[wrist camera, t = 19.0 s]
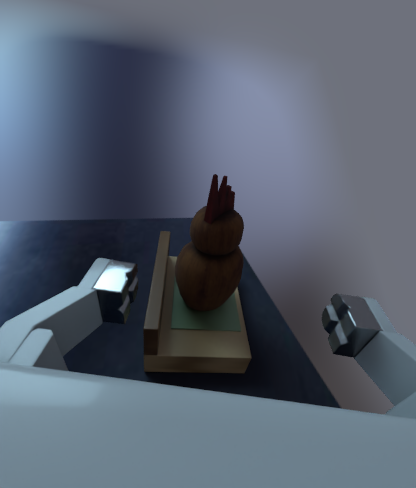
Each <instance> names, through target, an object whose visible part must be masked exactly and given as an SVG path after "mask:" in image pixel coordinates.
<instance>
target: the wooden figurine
mask: <svg viewBox="0 0 416 488" xmlns="http://www.w3.org/2000/svg"><path fill="white" fill-rule="evenodd" d="M234 195H235V192H233V191H231V186H229V185H227V176H224V177H223V180H222V183H221V186H220V188H219V191H218V176H217V175H216V174H215V175H213V179H212V184H211V189H210V193H209V197H208V203H207V206H205V207H203V208H202V209H200V210H199V211H198V212H197V213H196V215H195V216H194V218H193V220H192V222H191V226H190V236H191V240H192V241H191V242H190V243H188V244H187V245H185V246H184V247H183V249H182V250H181V252H180V254H179V255H178V257H177V260H176V265H175V278H176V283H177V286H178V289H179V292H180V295H181V297H182V299H183V300H184V302H185V303H186V305H188V306H189V307H191V308H192V309H195V310H198V311H210V310H214V309H217V308H218V307H220V306H221V305H222V304H223V303H225V302H226V301H227V299H228V298H229V297H230V296H231V295H232V294H233V293H234V291H235V290H236V288H237V287H238V284H239V282H240V279H241V274H242V268H243V255H242V253H241V250H240V248H239V246H238V245H239V244H240V241H241V239H242V234H243V229H244V224H243V219H242V217H241V216H240V215H239V213H237V212H236V211H235V210H234V198H235V196H234Z"/></svg>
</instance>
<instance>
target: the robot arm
mask: <svg viewBox="0 0 416 488" xmlns="http://www.w3.org/2000/svg"><path fill="white" fill-rule="evenodd" d="M137 272H138V268H137V264H134V263H128V262H122V261H116V260H109V259H103V258H98V259H97V260H95V262H94V263H93V265H92V266H91V268H90V269H89V271H88V272H87V274H86V275H85V277H84V278H83V279H82V281H81V282H80V284H79V285H78V287H75V286H73V287H71V288H69V289H68V290H66V291H64V292H62V293H60V294H58V295H56V296H54V297H52V298H50V299H49V300H47V301H45V302H43V303H41V304H39V305H37V306H35V307H33V308H32V309H30V310H28V311H26V312H24V313H22V314H20V315H18V316H16V317H14V318H13V319H11V320H9V321H7V322H5V323H4V324H3V326H2V327H1V328H0V488H416V345H415V344H413V343H412V342H411V341H410V340H408V339H407V338H406V337H404V336H403V335H402V334H398V333H397V332H396V330H395V329H394V327H393V326H392V324H391V322H390V321H389V319H388V318H387V316H386V314H385V313H384V311H383V310H382V308H381V306H380V305H379V303H378V302H377V301H376V300H375V299H373V298H366V297H357V296H351V295H343V294H335V295H333V297H332V298H331V302H332V304H330V305H328V306H326V308H325V309H324V311H323V314H322V323H323V326H324V329H325V330H326V331H327V332H328V333H329V334H330V335H329V337H328V341H329V343H330V346H331V349H332V351H333V354H336V355H342V356H348V357H354V359H355V360H356V361H357V363H358V364H359V365H360V366H361V367H362V368H363V370H364V371H365V372H366V373H367V374H368V375H369V376H370V378H371V379H372V380H373V381H374V382H375V383H376V385H377V386H378V387H379V388H380V389H381V391H382V392H383V393H384V394H385V395H386V396H387V398H388V399H389V400H390V401H391V402H392V403H393V404H394V406H395V407H393V408H392V409H390V410H389V411H387V412H386V414H385V415H383V414H376V413H368V412H361V411H354V410H347V409H340V408H332V407H325V406H318V405H311V404H303V403H296V402H289V401H282V400H274V399H267V398H260V397H252V396H245V395H238V394H230V393H223V392H216V391H208V390H201V389H194V388H186V387H179V386H172V385H165V384H157V383H150V382H143V381H135V380H128V379H121V378H113V377H106V376H99V375H91V374H84V373H77V372H70V371H68V369H67V367H66V364H65V362H64V359H63V357H62V356H64V355H65V354H66V353H67V352H68V351H70V350H71V349H72V348H73V347H74V346H76V345H77V344H78V343H79V342H80V341H82V340H83V339H84V338H85V337H86V336H88V335H89V334H90V333H91V332H92V331H94V330H95V329H96V328H97V327H98V326H100V325H101V324H102V323H103V322H110V323H118V324H125V322H126V320H127V317H128V315H129V312H130V304H131V303H132V302H134V300H135V297H136V294H137V290H138V278H137V277H136V274H137Z"/></svg>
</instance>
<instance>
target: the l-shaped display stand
mask: <svg viewBox="0 0 416 488" xmlns="http://www.w3.org/2000/svg"><path fill="white" fill-rule="evenodd" d="M169 245H170V232H165V231H161V233H160V238H159V244H158V250H157V255H156V261H155V267H154V272H153V278H152V284H151V289H150V295H149V301H148V306H147V312H146V318H145V323H144V371H145V372H200V373H245V371H246V369H247V366H248V364H249V362H250V360H251V353H250V348H249V343H248V338H247V333H246V328H245V323H244V318H243V313H242V308H241V303H240V298H239V293H238V288H236V290H235V291H234V293H233V294H232V295H231V296H230V297H229V298H228V299H227V301H226V302H225V303H223V304H222V305H221V306H220V307H218V308H217V309H214V310H210V311H198V310H195V309H192V308H191V307H189V306H188V305H186V303H185V302H184V300H183V299H182V297H181V295H180V292H179V289H178V286H177V283H176V278H175V265H176V260H177V257H170V256H169Z"/></svg>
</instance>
